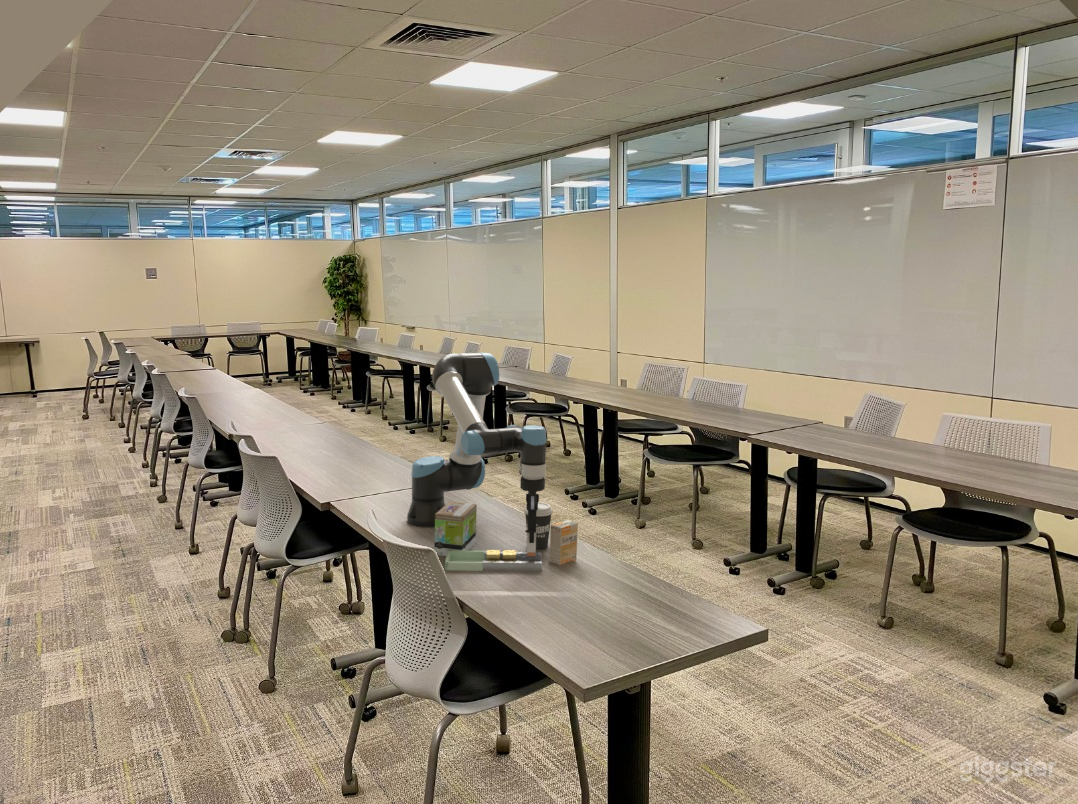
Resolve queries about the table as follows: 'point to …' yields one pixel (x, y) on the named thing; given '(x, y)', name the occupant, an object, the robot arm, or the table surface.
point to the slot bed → (514, 563)
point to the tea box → (455, 527)
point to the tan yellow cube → (493, 555)
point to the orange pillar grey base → (530, 556)
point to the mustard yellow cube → (509, 555)
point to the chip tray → (464, 560)
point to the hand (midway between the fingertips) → (531, 549)
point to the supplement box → (563, 542)
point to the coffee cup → (541, 524)
